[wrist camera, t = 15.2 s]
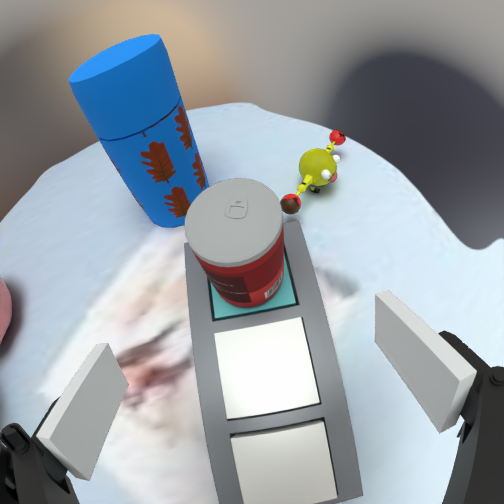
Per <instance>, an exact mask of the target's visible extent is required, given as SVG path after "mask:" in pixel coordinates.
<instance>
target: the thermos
mask: <svg viewBox="0 0 504 504" xmlns="http://www.w3.org/2000/svg"><path fill="white" fill-rule="evenodd" d="M69 83H70V86H71V88H72V91H73V94H74V96H75V98H76V100H77V101H78V103H79V105H80V107H81V109H82V111H83V113H84V114H85V116H86V118H87V120H88V122H89V123H90V125H91V127H92V129H93V130H94V132H95V133H96V136H97V137H98V139H99V141H100V143H101V144H102V146H103V148H104V149H105V151H106V153H107V154H108V156H109V158H110V159H111V161H112V163H113V164H114V166H115V167H116V169H117V171H118V172H119V174H120V176H121V177H122V179H123V180H124V182H125V184H126V185H127V187H128V188H129V190H130V191H131V193H132V194H133V196H134V198H135V199H136V201H137V202H138V203H139V205H140V206H141V207H142V209H143V210H144V211H145V213H146V214H147V215H148V216H149V218H150V219H151V220H152V221H153V223H155V224H157V225H159V226H161V227H173V228H174V227H177V226H181V225H185V218H186V215H187V211H188V209H189V207H190V206H191V204H192V202H193V201H194V200H195V199H196V197H197V196H198V195H199V194H200V193H202V192H203V191H204V190H205V189H207V188H208V187H209V185H208V181H207V177H206V173H205V170H204V167H203V164H202V161H201V158H200V155H199V152H198V149H197V145H196V142H195V139H194V136H193V133H192V130H191V127H190V124H189V120H188V117H187V114H186V111H185V108H184V105H183V102H182V98H181V96H180V92H179V89H178V86H177V83H176V79H175V76H174V72H173V69H172V66H171V63H170V59H169V56H168V53H167V50H166V48H165V46H164V43H163V42H162V39H161V37H160V36H159V35H155V34H150V35H144V36H139V37H136V38H133V39H129V40H126V41H124V42H122V43H119V44H116V45H114V46H112V47H110V48H108V49H106V50H104V51H102V52H101V53H99V54H97V55H96V56H94V57H92V58H91V59H89V60H88V61H86V62H85V63H84V64H82V65H81V66H80V67H78V68H77V69H76V70H75V71H74V73H73V74H72V75H71V76H70V78H69Z"/></svg>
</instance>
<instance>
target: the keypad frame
mask: <svg viewBox="0 0 504 504" xmlns="http://www.w3.org/2000/svg"><path fill="white" fill-rule="evenodd" d="M283 225H284V256H285V260H286V264H287V269H288V273H289V277H290V281H291V285H292V289H293V293H294V297H295V302H296V306H293V307H289V308H284V309H279V310H274V311H269V312H264V313H259V314H254V315H248V316H243V317H237V318H232V319H226V320H220V321H217V320H216V319H215V313H214V305H213V297H212V289H211V281H210V280H209V278H208V277H207V275H206V273H205V272H204V270H203V268H202V267H201V265H200V263H199V262H198V260H197V258H196V257H195V255H194V253H193V251H192V250H191V248H190V246H189V243H184V248H185V266H186V281H187V294H188V306H189V317H190V327H191V337H192V346H193V355H194V363H195V371H196V378H197V386H198V393H199V400H200V406H201V413H202V419H203V425H204V431H205V436H206V442H207V447H208V453H209V458H210V463H211V468H212V473H213V477H214V482H215V487H216V491H217V495H218V500H219V504H244V501H243V497H242V492H241V488H240V483H239V478H238V474H237V469H236V464H235V459H234V454H233V448H232V443H231V438H232V437H233V436H234V435H236V434H237V433H238V432H246V431H254V430H260V429H267V428H273V427H279V426H284V425H289V424H294V423H299V422H304V421H308V420H312V419H317V418H320V420H321V421H323V422H324V427H325V432H326V437H327V442H328V448H329V453H330V459H331V464H332V470H333V475H334V481H335V487H336V493H337V498H335V499H331V500H327V501H323V502H319V503H314V504H336V503H340V502H343V501H347V500H350V499H353V498H357V497H360V496H363V491H362V484H361V478H360V471H359V465H358V459H357V453H356V448H355V442H354V437H353V431H352V426H351V421H350V416H349V411H348V406H347V401H346V396H345V392H344V387H343V383H342V378H341V374H340V369H339V365H338V361H337V357H336V352H335V348H334V344H333V340H332V336H331V332H330V328H329V324H328V320H327V316H326V313H325V309H324V305H323V301H322V298H321V294H320V290H319V287H318V283H317V279H316V276H315V272H314V269H313V265H312V262H311V259H310V255H309V252H308V248H307V245H306V242H305V238H304V235H303V232H302V229H301V225H300V222H299V220H297V221H292V222H287V223H283ZM298 317H301V320H302V324H303V328H304V333H305V337H306V341H307V346H308V350H309V355H310V359H311V364H312V368H313V373H314V378H315V382H316V387H317V392H318V397H319V403H315V404H311V405H307V406H302V407H298V408H293V409H288V410H283V411H278V412H272V413H266V414H260V415H254V416H247V417H239V418H230V419H227V415H226V409H225V403H224V397H223V391H222V385H221V378H220V372H219V365H218V358H217V351H216V344H215V336H214V333H220V332H226V331H232V330H237V329H243V328H249V327H254V326H259V325H264V324H269V323H274V322H279V321H284V320H289V319H294V318H298Z"/></svg>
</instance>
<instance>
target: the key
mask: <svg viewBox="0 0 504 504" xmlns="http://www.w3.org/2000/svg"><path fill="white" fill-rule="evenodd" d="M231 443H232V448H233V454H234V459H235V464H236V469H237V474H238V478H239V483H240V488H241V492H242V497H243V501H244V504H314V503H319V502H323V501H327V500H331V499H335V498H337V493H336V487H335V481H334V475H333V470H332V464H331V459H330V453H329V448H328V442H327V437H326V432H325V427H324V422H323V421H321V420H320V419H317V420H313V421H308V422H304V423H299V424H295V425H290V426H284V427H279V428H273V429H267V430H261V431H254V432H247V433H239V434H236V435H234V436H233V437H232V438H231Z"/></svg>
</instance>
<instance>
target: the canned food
mask: <svg viewBox="0 0 504 504" xmlns="http://www.w3.org/2000/svg"><path fill="white" fill-rule="evenodd" d="M184 227H185V235H186V238H187V241H188V243H189V246H190V248H191V250H192V251H193V253H194V255H195V257H196V258H197V260H198V262H199V263H200V265H201V267H202V268H203V270H204V272H205V273H206V275H207V277H208V278H209V280H210V281H211V283H212V285H213V286H214V288H215V289H216V291H217V292H218V294H219V295H220V297H222V298H223V299H224V300H225V301H226V302H228V303H230V304H232V305H235V306H238V307H255V306H258V305H261V304H263V303H265V302H266V301H268V300H269V299H270V298H271V297H273V296H274V294H275V293H276V292H277V291H278V289H279V287H280V285H281V283H282V280H283V275H284V225H283V214H282V209H281V205H280V202H279V199H278V198H277V196H276V195H275V193H274V192H273V191H272V190H271V189H270V188H269V187H267V186H266V185H264V184H262V183H260V182H257V181H255V180H251V179H245V178H235V179H228V180H224V181H221V182H218V183H216V184H214V185H212V186H210V187H208V188H207V189H205V190H204V191H203V192H202V193H200V194H199V195H198V196H197V197H196V199H195V200H194V201H193V202H192V204H191V206H190V207H189V209H188V211H187V215H186V218H185V226H184Z"/></svg>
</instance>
